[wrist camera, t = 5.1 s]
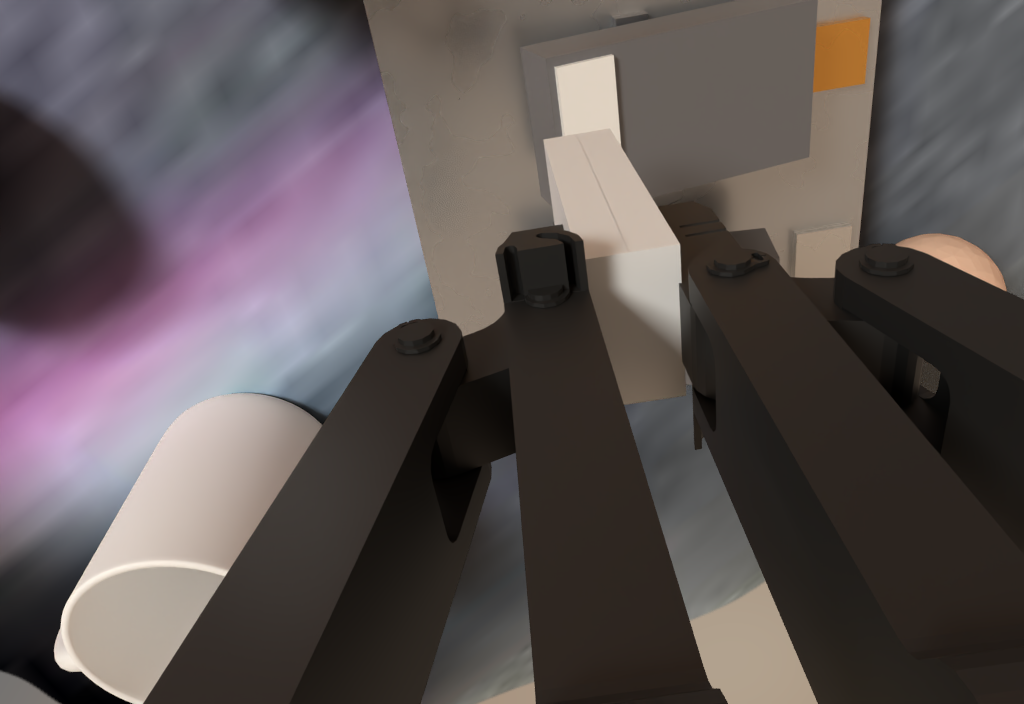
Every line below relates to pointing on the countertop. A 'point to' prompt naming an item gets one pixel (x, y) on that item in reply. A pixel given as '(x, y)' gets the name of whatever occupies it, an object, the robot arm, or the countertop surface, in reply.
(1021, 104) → the countertop surface
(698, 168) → the block
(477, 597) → the countertop surface
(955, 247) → the egg
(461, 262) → the panel
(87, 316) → the countertop surface
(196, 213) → the countertop surface
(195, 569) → the cup
